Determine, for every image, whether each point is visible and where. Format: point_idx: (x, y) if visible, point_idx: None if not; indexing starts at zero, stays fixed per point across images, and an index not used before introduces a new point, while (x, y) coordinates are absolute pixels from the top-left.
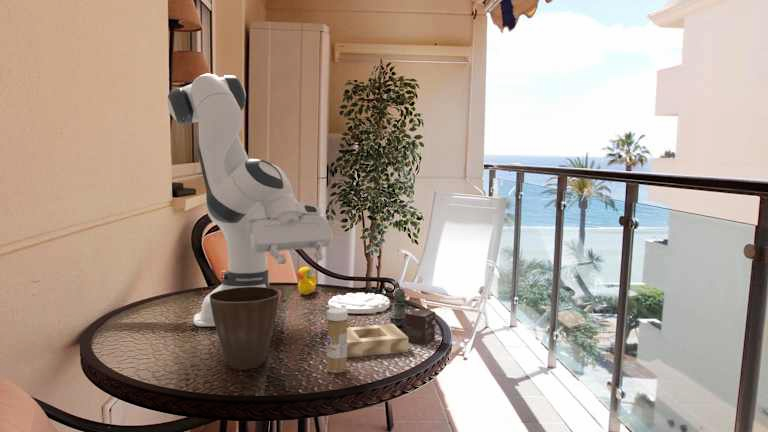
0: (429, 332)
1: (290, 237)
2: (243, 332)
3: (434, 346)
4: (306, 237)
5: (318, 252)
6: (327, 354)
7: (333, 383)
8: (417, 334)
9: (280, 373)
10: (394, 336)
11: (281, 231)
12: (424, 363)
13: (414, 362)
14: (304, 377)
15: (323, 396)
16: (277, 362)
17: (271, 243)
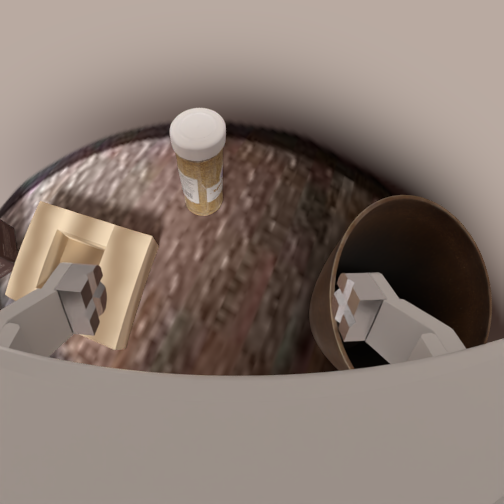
0: None
1: (320, 416)
2: (395, 244)
3: (11, 213)
4: (73, 386)
5: (70, 281)
6: (222, 186)
7: (237, 157)
8: (7, 235)
9: (299, 238)
10: (50, 220)
11: (442, 498)
12: (74, 157)
13: (81, 167)
14: (269, 200)
15: (271, 131)
16: (286, 294)
17: (478, 347)
